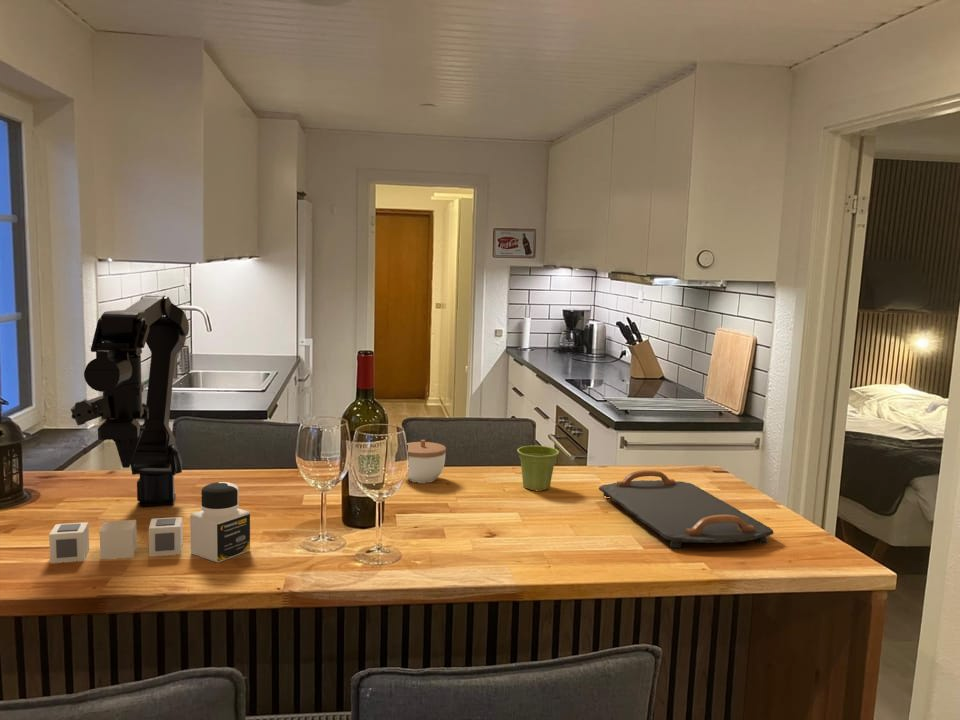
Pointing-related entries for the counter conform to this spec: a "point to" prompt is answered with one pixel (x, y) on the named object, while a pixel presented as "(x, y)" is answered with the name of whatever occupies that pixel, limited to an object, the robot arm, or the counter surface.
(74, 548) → the labelled cube
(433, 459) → the lidded jar
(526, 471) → the plant pot
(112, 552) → the plain cube
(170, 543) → the labelled cube a
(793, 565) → the counter surface
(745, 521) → the serving board
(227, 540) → the medicine bottle
